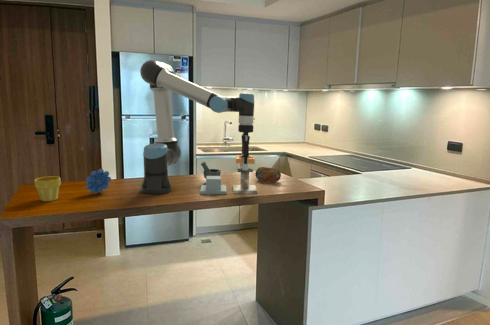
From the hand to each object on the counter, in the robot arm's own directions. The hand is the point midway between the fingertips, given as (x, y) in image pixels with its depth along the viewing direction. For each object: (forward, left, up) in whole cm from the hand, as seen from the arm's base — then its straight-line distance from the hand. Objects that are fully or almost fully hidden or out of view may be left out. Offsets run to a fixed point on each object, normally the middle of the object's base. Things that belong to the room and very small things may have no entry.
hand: (244, 168), depth 183 cm
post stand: (0, 0, -12) cm, 12 cm away
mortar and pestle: (-18, +17, -12) cm, 27 cm away
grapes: (-72, -6, -12) cm, 73 cm away
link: (0, 0, +3) cm, 3 cm away
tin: (+15, +21, -12) cm, 29 cm away
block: (-16, -1, -12) cm, 20 cm away
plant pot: (-90, -18, -12) cm, 92 cm away
